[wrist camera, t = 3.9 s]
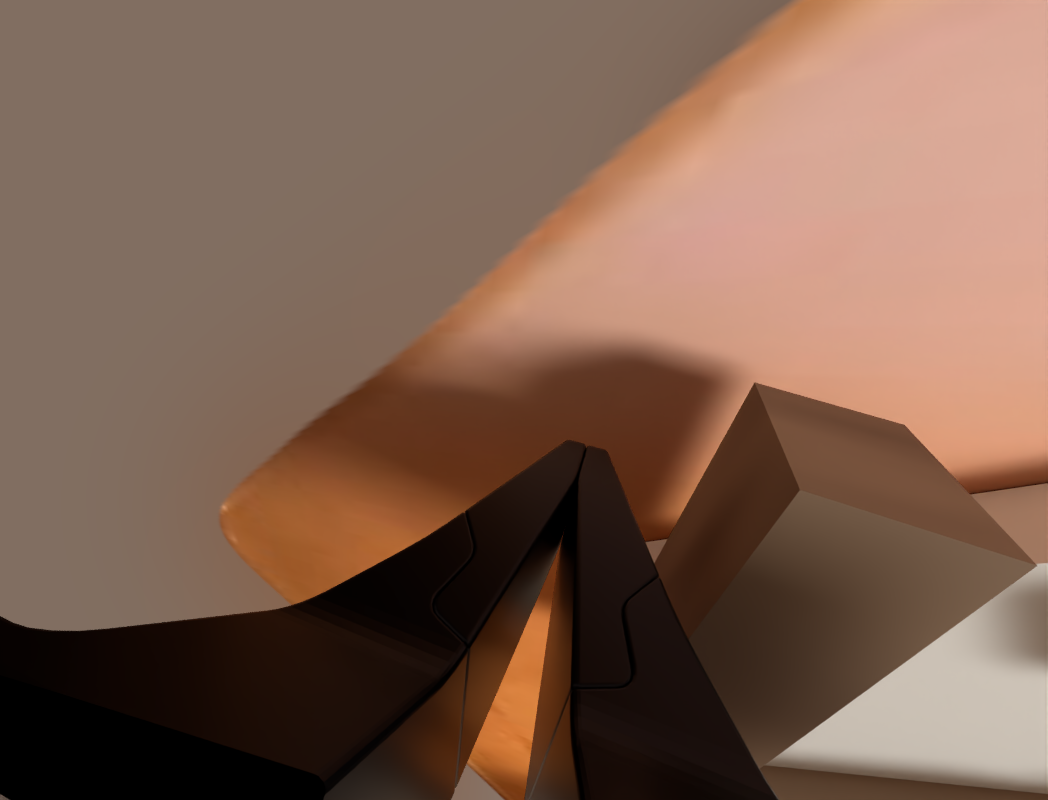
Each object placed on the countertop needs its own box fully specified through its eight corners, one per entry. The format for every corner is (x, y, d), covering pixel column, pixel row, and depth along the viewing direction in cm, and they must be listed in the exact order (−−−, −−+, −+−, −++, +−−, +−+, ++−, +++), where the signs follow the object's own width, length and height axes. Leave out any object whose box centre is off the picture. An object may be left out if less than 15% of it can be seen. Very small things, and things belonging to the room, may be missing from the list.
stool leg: (677, 704, 13) (679, 834, 10) (590, 667, 13) (573, 783, 11) (913, 427, 7) (1053, 571, 4) (746, 380, 7) (787, 484, 5)
